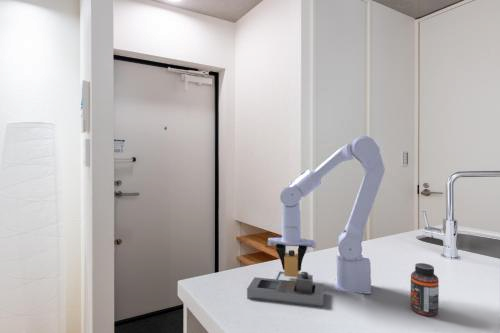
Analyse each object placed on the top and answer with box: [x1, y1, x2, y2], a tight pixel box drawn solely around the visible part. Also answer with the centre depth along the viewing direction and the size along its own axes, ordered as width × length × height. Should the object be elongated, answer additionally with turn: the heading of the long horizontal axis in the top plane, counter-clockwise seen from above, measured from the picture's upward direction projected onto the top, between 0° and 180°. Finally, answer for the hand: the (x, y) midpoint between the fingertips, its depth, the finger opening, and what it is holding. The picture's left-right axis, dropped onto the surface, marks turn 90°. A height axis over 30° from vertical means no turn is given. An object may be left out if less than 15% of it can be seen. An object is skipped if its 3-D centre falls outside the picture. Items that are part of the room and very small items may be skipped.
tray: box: [273, 270, 311, 281], centre depth 92 cm, size 11×11×1 cm
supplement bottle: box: [410, 262, 440, 317], centre depth 74 cm, size 6×6×11 cm
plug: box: [284, 249, 300, 277], centre depth 92 cm, size 4×4×7 cm
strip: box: [246, 276, 325, 308], centre depth 82 cm, size 20×8×3 cm, turn 75°
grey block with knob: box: [296, 271, 314, 294], centre depth 80 cm, size 4×4×7 cm
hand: (291, 269), depth 92 cm, fingers closed on plug, 4 cm apart
